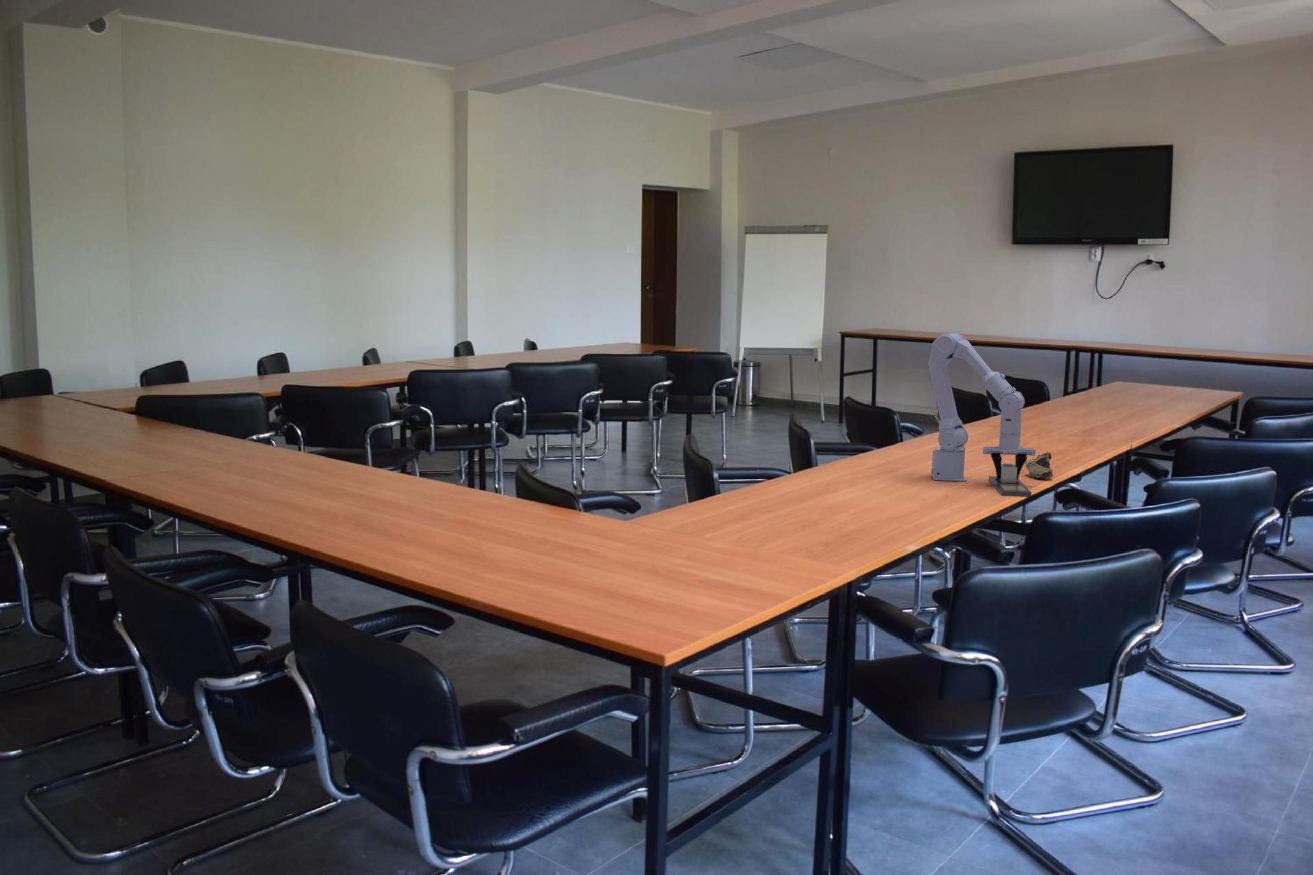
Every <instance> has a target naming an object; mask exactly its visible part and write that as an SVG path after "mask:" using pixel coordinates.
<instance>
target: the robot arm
mask: <svg viewBox="0 0 1313 875" xmlns="http://www.w3.org/2000/svg"><path fill="white" fill-rule="evenodd" d="M953 358H958V359H962V360H964V361H965V362H967V364H968V365H969V366H970V367H971V368H972V369H973V370H974V371H975V372H976V373H977V374H978V376H980V377H981V378H982V386H983V387H984V388H985V389H986V390H987V391H988V392H989V393H990V395H991V396H992V397H993V398H994V400H996V401H998V408H999V409H1000V411H1001V414H1000V424H999V425H1000V426H999V439H998V443H999V444H998V446H982V454H983V455H990V457H991V459H992V461H993V465H994V468H995V474H996V476H997V479H1000V476H1001V464H1002V462H1003V461H1002V460H1003V458H1002V455H1004V456H1006V455H1012V456H1014V458H1015V460H1014V461H1015V464H1014V465H1015V466H1017V480H1018V479H1019V477H1020V474H1021V471H1022V469H1023V467H1024V465H1025V464H1026V463H1025V462H1026V461H1028V460H1027V459H1028V456H1031V457H1032V456H1033V457H1036V448H1034V447H1033V448H1032V447H1020V446H1021V444H1020V443H1021V432H1022V413H1023V412H1022V411H1023V410H1022V409H1023V408H1024V406H1025V402H1026V401H1025V397H1024V396H1023V394H1022V392H1021V391H1017V389H1016V388H1015V386H1013V387H1012V386H1011V384H1010V383H1009V382H1008V381H1007V380H1006V379H1005V378H1006V375H1004V373H1000V372H999V371H993V370H992V369H991V368H990V367H989V366H988V364H987V363H986V361H984V359H983V358H982V356H980V354H979V353H978V352H977V350H976V349H975V348H974V347H973V346H972V344H971V343H970V341H969V340H967V339H966V338H965V337H964V336H963V335H962V333H960V332H951V333H942V334H940V335H938V336H937V338H935V340H934V341H933V342H932V343H931V351H930V354H929V358H928V362H927V365H928V366H927V367H928V370H929V376H930V379H931V383H932V384H931V385H932V388H933V392H934V398H935V402H936V407H937V411H938V415H939V420H940V422H939V425H938V431H939V432H938V433H939V434H938V438H937V441H938V445H939V446H940V448H939V449H933V451H932V457H931V458H932V462H931V471H930V472H931V474H930V475H931V478H932V479H933V480H934V481H946V482H947V481H951V482H967V478H966V477H965V476H964V475H965V459H966V447H965V445H966V444H967V442H968V439H969V433H968V431H967V430H966V429H965V426H964V425H963V421H962V420H961V419H960V417H959V415H958V410H957V406H956V401H955V397H954V393H953V389H952V382H951V380H950V376H949V375H950V374H949V369H948V365H949V364H950V362H951V361H952V360H953Z"/></svg>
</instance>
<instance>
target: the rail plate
mask: <svg viewBox="0 0 1313 875" xmlns="http://www.w3.org/2000/svg"><path fill="white" fill-rule="evenodd" d="M988 481H989V482H990V484H991V485H992V486H993V487H994V488H995V490H996V491H997V492H998V493H999V494H1000V495H1001V496H1002V497H1005V496H1006V497H1007V496H1009V497H1030V498H1031V497H1032V492H1031V490H1030V489H1029V488H1027V486H1026V485H1025V484H1024V483H1023V482H1022V481H1021V480H1020V478H1018V480H1017V481H1016V484H999V483H998V479H997V475H996V476H993V475H990V476H988Z"/></svg>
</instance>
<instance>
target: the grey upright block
mask: <svg viewBox="0 0 1313 875" xmlns="http://www.w3.org/2000/svg"><path fill="white" fill-rule="evenodd" d="M1016 481H1017V466H1015V464H1014V463H1001V476H1000V479H998V483H999V484H1016Z"/></svg>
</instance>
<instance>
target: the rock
mask: <svg viewBox="0 0 1313 875" xmlns="http://www.w3.org/2000/svg"><path fill="white" fill-rule="evenodd" d="M1051 460H1052V454H1051V452H1049V451H1046V452H1045V453H1043V454H1042V453H1041V454H1038V455H1037V456H1036V457H1035V458H1032V459H1029V460H1026V462H1025V463H1024V464H1025V467H1026V469H1027V470H1028V471H1027V472H1028V475H1029V477H1030V478H1031V479H1035V478H1037V479H1040V480H1044V481H1049V480H1050V479H1051V478H1052V477H1054V475H1053V469H1051V463H1050V461H1051Z"/></svg>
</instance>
